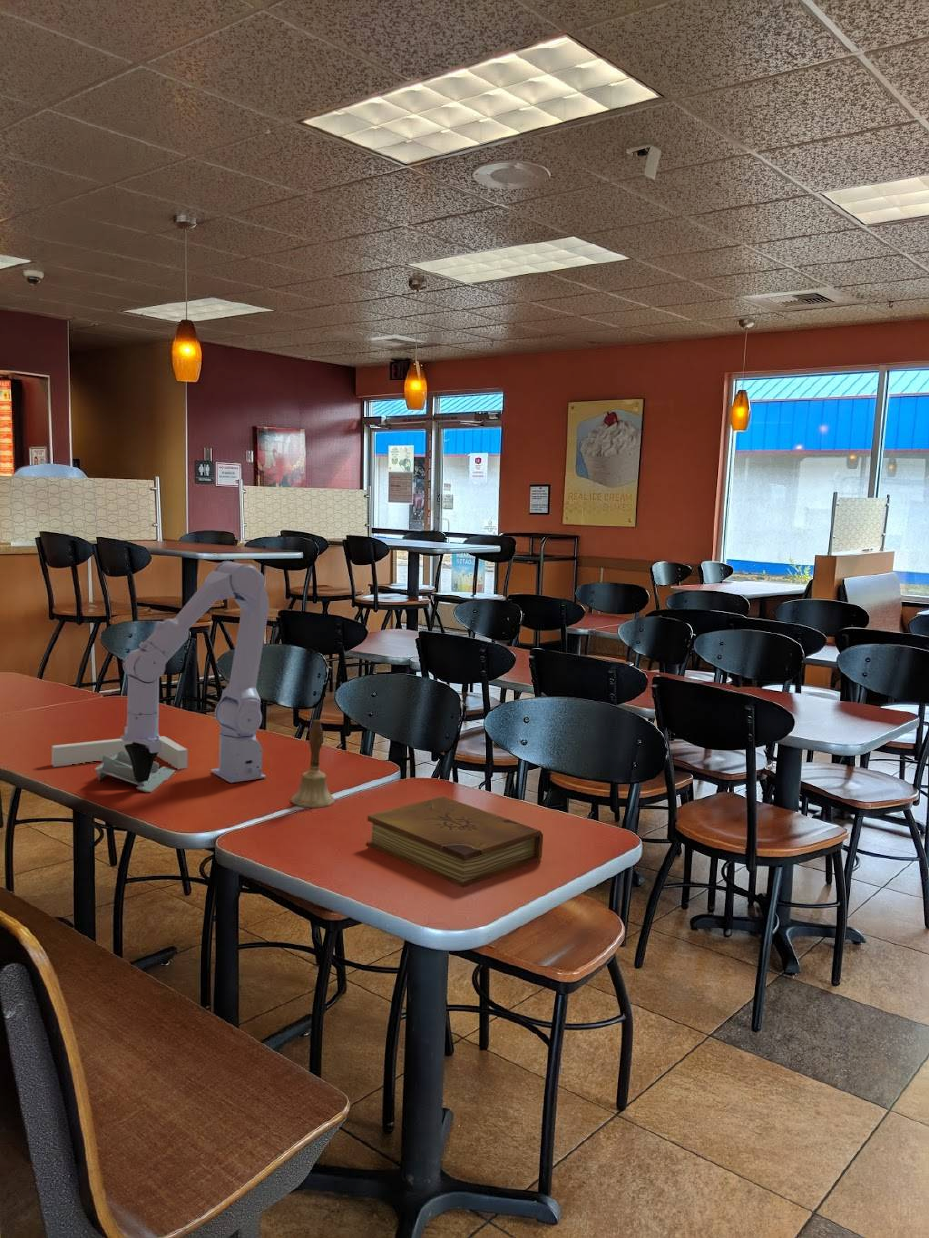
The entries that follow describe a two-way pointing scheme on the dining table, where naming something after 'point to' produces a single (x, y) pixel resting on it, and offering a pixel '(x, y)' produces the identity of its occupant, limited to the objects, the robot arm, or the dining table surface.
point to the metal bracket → (123, 770)
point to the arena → (113, 752)
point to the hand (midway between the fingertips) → (141, 780)
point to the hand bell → (314, 776)
